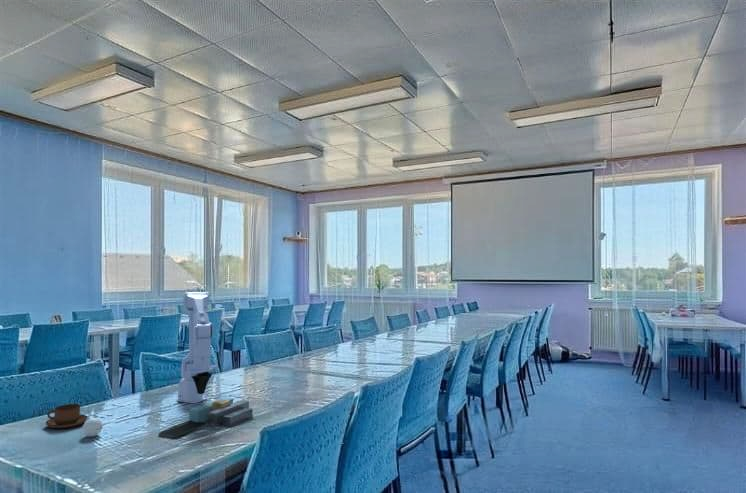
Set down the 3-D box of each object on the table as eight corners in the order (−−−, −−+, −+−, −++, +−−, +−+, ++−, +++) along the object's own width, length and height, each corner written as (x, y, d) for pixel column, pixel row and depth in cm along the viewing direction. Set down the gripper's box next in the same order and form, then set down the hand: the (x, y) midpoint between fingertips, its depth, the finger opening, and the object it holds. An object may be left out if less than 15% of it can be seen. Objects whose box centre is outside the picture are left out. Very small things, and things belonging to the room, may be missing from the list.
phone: (156, 433, 154) (189, 420, 168) (156, 437, 154) (189, 423, 168) (176, 436, 151) (208, 422, 165) (176, 440, 151) (208, 426, 165)
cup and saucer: (42, 433, 155) (43, 413, 155) (47, 422, 166) (48, 404, 166) (86, 428, 161) (86, 409, 161) (88, 418, 171) (89, 400, 172)
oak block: (211, 419, 172) (212, 402, 172) (220, 415, 176) (220, 399, 177) (221, 420, 170) (221, 403, 171) (229, 417, 174) (230, 400, 175)
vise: (207, 425, 164) (208, 412, 164) (242, 412, 181) (242, 400, 181) (224, 428, 161) (224, 415, 162) (257, 414, 178) (257, 402, 178)
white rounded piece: (87, 440, 149) (88, 422, 149) (78, 437, 152) (79, 419, 152) (112, 433, 155) (113, 416, 155) (102, 430, 158) (103, 413, 158)
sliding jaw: (189, 422, 168) (189, 409, 168) (224, 409, 184) (224, 397, 184) (197, 424, 166) (198, 410, 166) (232, 410, 182) (233, 398, 183)
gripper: (195, 360, 170) (194, 399, 170) (224, 354, 183) (222, 390, 183) (181, 358, 173) (179, 397, 172) (209, 352, 186) (208, 388, 186)
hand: (200, 393), depth 178 cm, fingers closed
